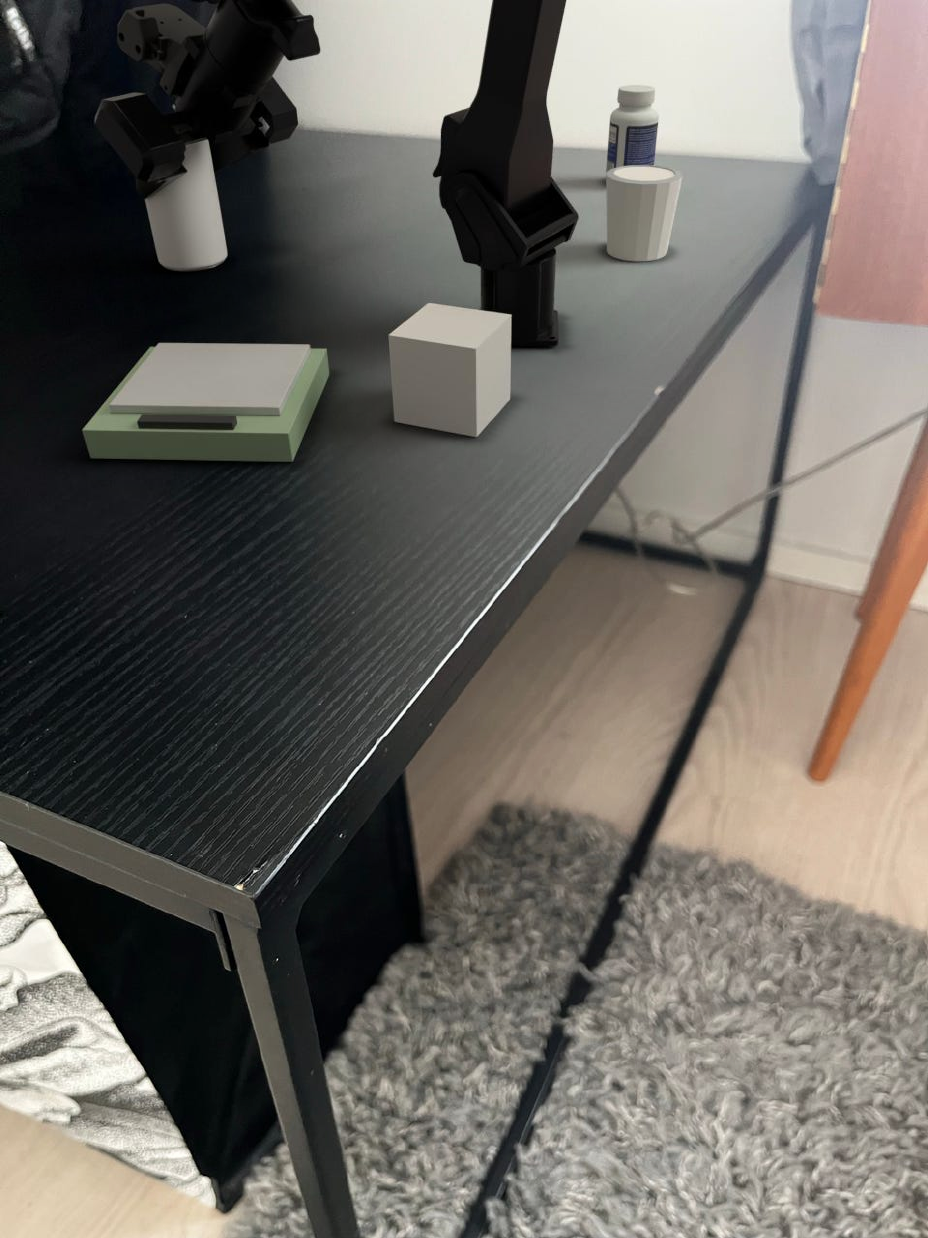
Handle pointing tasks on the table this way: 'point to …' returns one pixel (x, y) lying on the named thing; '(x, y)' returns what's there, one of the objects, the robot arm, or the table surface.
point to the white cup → (641, 210)
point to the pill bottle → (633, 128)
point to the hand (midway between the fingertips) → (169, 185)
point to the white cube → (451, 368)
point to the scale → (211, 403)
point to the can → (189, 216)
